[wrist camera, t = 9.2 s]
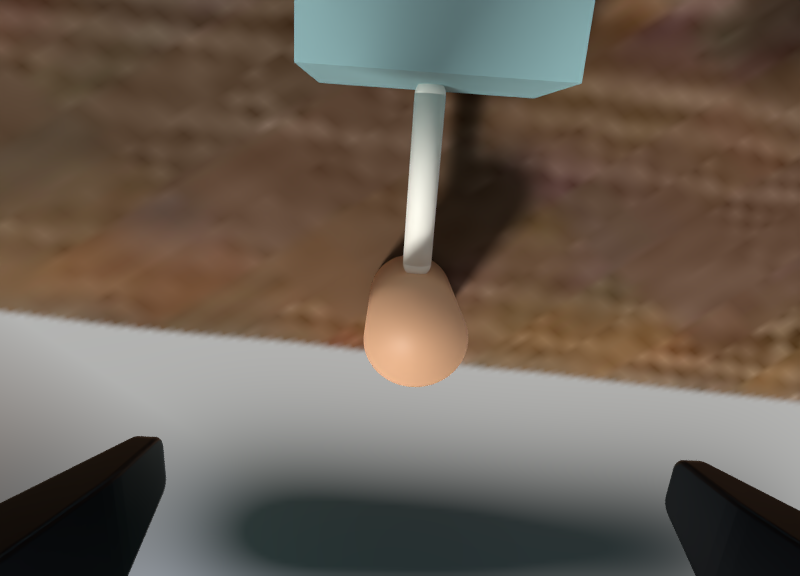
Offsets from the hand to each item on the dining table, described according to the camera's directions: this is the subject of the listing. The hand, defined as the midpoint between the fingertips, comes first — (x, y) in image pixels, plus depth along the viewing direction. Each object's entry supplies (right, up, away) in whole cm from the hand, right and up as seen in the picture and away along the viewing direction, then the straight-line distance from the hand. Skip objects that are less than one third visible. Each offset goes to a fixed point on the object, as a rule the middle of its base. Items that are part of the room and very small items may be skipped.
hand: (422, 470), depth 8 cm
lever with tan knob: (0, +7, +8) cm, 11 cm away
